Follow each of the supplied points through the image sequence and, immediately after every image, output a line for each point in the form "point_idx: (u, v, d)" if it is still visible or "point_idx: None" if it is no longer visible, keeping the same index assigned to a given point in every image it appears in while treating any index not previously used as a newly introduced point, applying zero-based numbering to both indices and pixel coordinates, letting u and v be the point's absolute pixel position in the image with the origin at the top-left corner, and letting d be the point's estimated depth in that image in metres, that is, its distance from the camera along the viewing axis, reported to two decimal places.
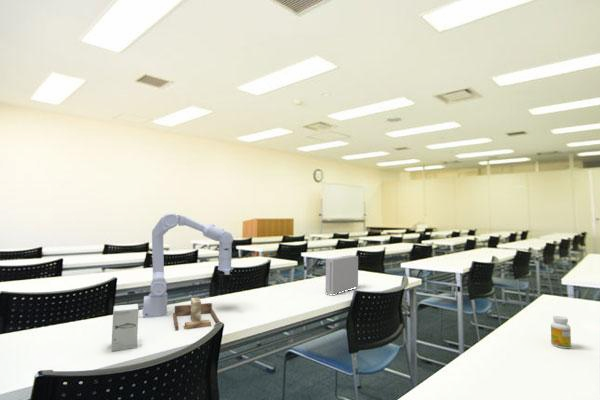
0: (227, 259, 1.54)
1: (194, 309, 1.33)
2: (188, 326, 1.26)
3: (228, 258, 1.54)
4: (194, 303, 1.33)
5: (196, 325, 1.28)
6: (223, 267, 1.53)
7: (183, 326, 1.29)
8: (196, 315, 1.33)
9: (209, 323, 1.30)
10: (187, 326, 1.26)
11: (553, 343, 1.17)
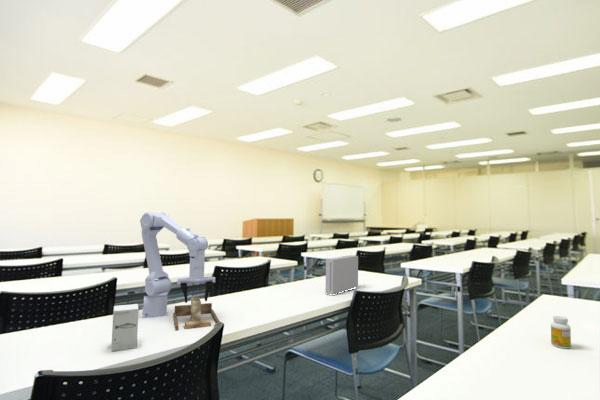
0: (190, 268, 1.36)
1: (194, 309, 1.33)
2: (188, 326, 1.26)
3: (190, 267, 1.36)
4: (194, 303, 1.33)
5: (196, 325, 1.28)
6: None
7: (183, 326, 1.29)
8: (196, 315, 1.33)
9: (209, 323, 1.30)
10: (187, 326, 1.26)
11: (553, 343, 1.17)
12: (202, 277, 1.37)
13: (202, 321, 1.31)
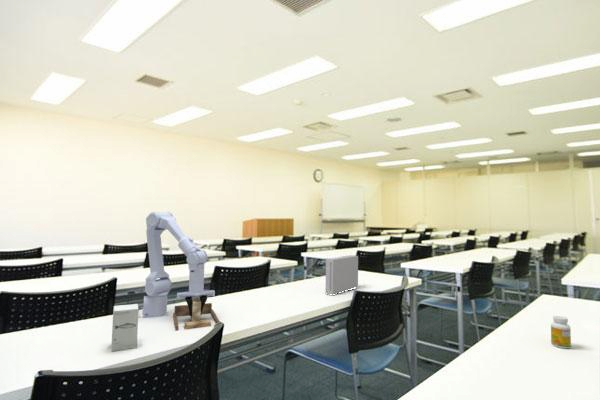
0: (189, 282, 1.36)
1: (194, 309, 1.33)
2: (188, 326, 1.26)
3: (190, 281, 1.36)
4: (194, 303, 1.33)
5: (196, 326, 1.28)
6: None
7: (183, 326, 1.29)
8: (196, 315, 1.33)
9: (209, 323, 1.30)
10: (187, 326, 1.26)
11: (553, 343, 1.17)
12: (202, 291, 1.37)
13: (202, 321, 1.31)
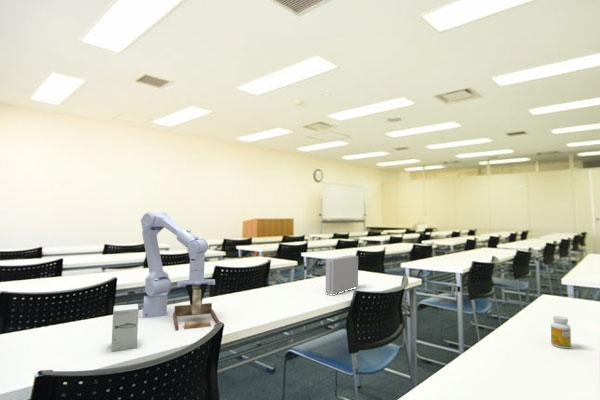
0: (190, 270, 1.36)
1: (194, 297, 1.33)
2: (187, 326, 1.27)
3: (190, 269, 1.36)
4: (194, 291, 1.34)
5: (195, 325, 1.28)
6: None
7: (183, 326, 1.29)
8: (196, 303, 1.34)
9: (208, 324, 1.30)
10: (186, 326, 1.26)
11: (553, 343, 1.17)
12: (202, 279, 1.37)
13: (202, 321, 1.30)
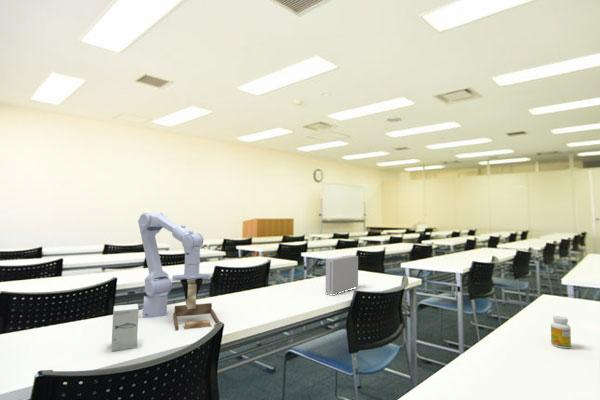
0: (185, 265, 1.35)
1: (189, 292, 1.32)
2: (187, 326, 1.27)
3: (185, 264, 1.35)
4: (189, 286, 1.33)
5: (195, 325, 1.28)
6: None
7: (183, 326, 1.28)
8: (191, 298, 1.33)
9: (208, 323, 1.30)
10: (186, 326, 1.26)
11: (553, 343, 1.17)
12: (197, 274, 1.36)
13: (202, 321, 1.30)
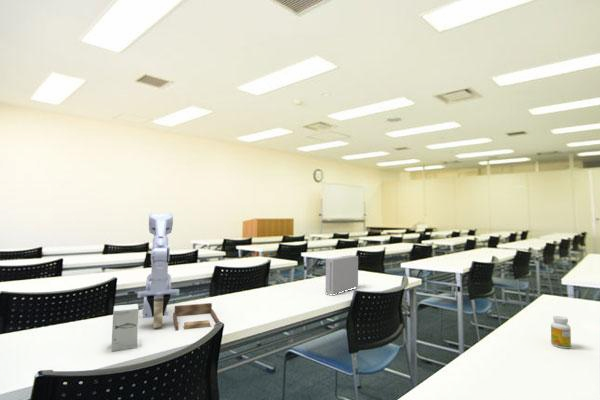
0: (151, 280, 1.28)
1: (155, 310, 1.25)
2: (187, 326, 1.26)
3: (152, 279, 1.28)
4: (155, 303, 1.25)
5: (195, 326, 1.27)
6: None
7: (183, 327, 1.28)
8: (157, 316, 1.25)
9: (208, 324, 1.29)
10: (186, 326, 1.26)
11: (553, 343, 1.17)
12: (164, 290, 1.29)
13: (201, 322, 1.30)
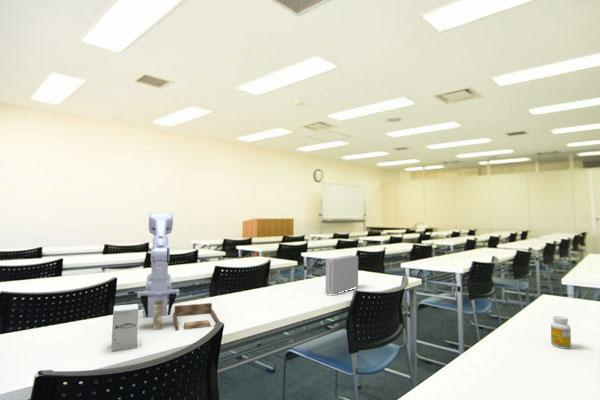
0: (151, 280, 1.28)
1: (155, 313, 1.25)
2: (187, 326, 1.26)
3: (152, 279, 1.28)
4: (155, 306, 1.25)
5: (195, 326, 1.27)
6: None
7: (183, 326, 1.28)
8: (157, 319, 1.25)
9: (208, 323, 1.29)
10: (186, 326, 1.26)
11: (553, 343, 1.17)
12: (164, 290, 1.29)
13: (201, 321, 1.30)
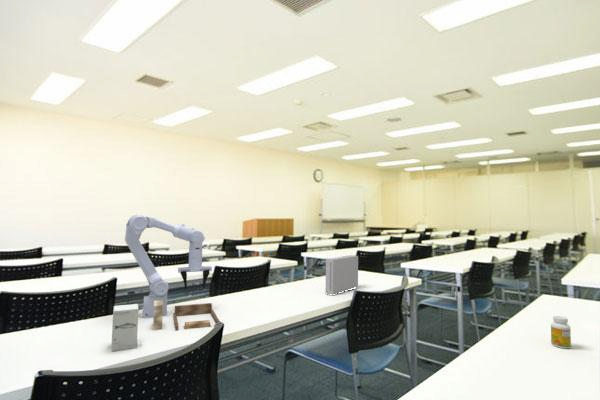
0: (189, 258, 1.53)
1: (155, 313, 1.25)
2: (187, 326, 1.27)
3: (189, 257, 1.52)
4: (155, 306, 1.25)
5: (195, 325, 1.28)
6: None
7: (183, 326, 1.29)
8: (157, 319, 1.25)
9: (208, 323, 1.29)
10: (186, 326, 1.26)
11: (553, 343, 1.17)
12: (200, 266, 1.53)
13: (202, 321, 1.30)
